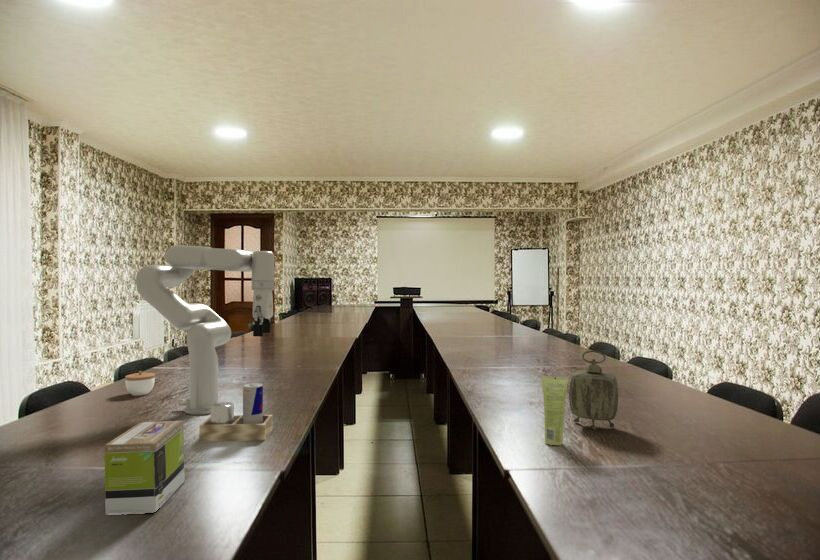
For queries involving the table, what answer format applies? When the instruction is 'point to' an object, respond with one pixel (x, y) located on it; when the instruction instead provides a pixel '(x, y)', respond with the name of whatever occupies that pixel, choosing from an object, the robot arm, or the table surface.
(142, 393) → the lidded jar
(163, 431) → the tea box
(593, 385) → the tabletop clock
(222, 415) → the grey rounded cylinder
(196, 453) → the table surface
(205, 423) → the caddy
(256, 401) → the beverage can
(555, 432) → the tube
